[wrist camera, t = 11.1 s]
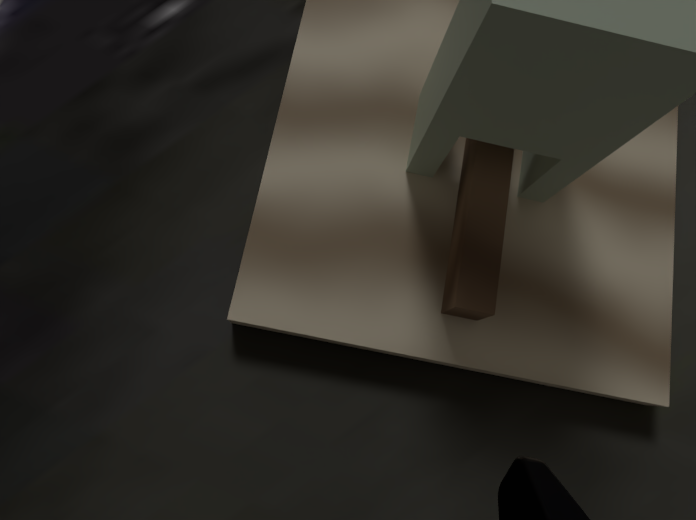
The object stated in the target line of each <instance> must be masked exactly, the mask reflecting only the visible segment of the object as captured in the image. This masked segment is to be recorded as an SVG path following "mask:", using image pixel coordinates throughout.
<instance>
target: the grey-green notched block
mask: <svg viewBox="0 0 696 520" xmlns="http://www.w3.org/2000/svg"><path fill="white" fill-rule="evenodd" d="M695 93H696V0H459V3H458V5H457V7H456V10H455V12H454V14H453V17H452V19H451V22H450V24H449V26H448V29H447V31H446V33H445V36H444V38H443V41H442V43H441V45H440V48H439V50H438V52H437V55H436V57H435V60H434V62H433V64H432V67H431V69H430V71H429V74H428V76H427V79H426V81H425V83H424V86H423V88H422V90H421V93H420V96H419V101H418V107H417V112H416V118H415V123H414V129H413V134H412V139H411V145H410V150H409V156H408V161H407V167H406V172H410V173H414V174H419V175H423V176H428V177H433V176H434V174H435V173H436V171H437V170H438V168H439V167H440V165H441V164H442V162H443V161H444V159H445V158H446V156H447V155H448V153H449V152H450V150H451V149H452V147H453V146H454V144H455V143H456V141H457V139H458V138H459V136H460V137H465V138H469V139H473V140H478V141H482V142H486V143H491V144H495V145H500V146H504V147H508V148H513V149H517V150H521V151H523V153H522V162H521V170H520V178H519V186H518V194H517V197H521V198H525V199H530V200H534V201H539V202H545V201H546V200H548V199H549V198H550V197H552V196H553V195H555V194H556V193H557V192H559V191H560V190H562V189H563V188H564V187H566V186H567V185H569V184H570V183H571V182H573V181H574V180H575V179H577V178H578V177H580V176H581V175H582V174H584V173H585V172H587V171H588V170H589V169H591V168H592V167H594V166H595V165H596V164H598V163H599V162H600V161H602V160H603V159H605V158H606V157H607V156H609V155H610V154H612V153H613V152H614V151H616V150H617V149H619V148H620V147H621V146H623V145H624V144H625V143H627V142H628V141H630V140H631V139H632V138H634V137H635V136H637V135H638V134H639V133H641V132H642V131H644V130H645V129H646V128H648V127H649V126H650V125H652V124H653V123H655V122H656V121H657V120H659V119H660V118H662V117H663V116H664V115H666V114H667V113H669V112H670V111H671V110H673V109H674V108H675V107H677V106H678V105H680V104H681V103H682V102H684V101H685V100H687V99H688V98H689V97H691V96H692V95H694V94H695Z"/></svg>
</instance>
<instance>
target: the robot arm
mask: <svg viewBox="0 0 696 520" xmlns="http://www.w3.org/2000/svg"><path fill="white" fill-rule="evenodd" d="M498 507H499V520H590V519H589V518H588V516H587V515H586V514H585V513H584V511H583V510H582V509H581V508H580V506H579V505H578V504H577V503H576V501H575V500H574V499H573V497H572V496H571V495H570V494H569V492H568V491H567V490H566V489H565V487H564V486H563V485H562V484H561V482H560V481H559V480H558V479H557V477H556V476H555V475H554V474H553V472H552V471H551V470H550V468H549V467H548V466H547V465H546V464H545V463H544V462H543V461H541V460H539V459H535V458H530V457H525V456H519V457H517V458H516V459H515V460H514V462H513V463H512V465H511V467H510V468H509V470H508V472H507V473H506V475H505V477H504V478H503V480H502V482H501V484H500V487H499V491H498Z"/></svg>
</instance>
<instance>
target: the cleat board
mask: <svg viewBox="0 0 696 520" xmlns="http://www.w3.org/2000/svg"><path fill="white" fill-rule="evenodd" d="M458 3H459V0H306V4H305V8H304V12H303V16H302V20H301V24H300V28H299V32H298V36H297V40H296V44H295V48H294V52H293V56H292V60H291V64H290V68H289V72H288V76H287V80H286V84H285V88H284V92H283V96H282V100H281V104H280V108H279V112H278V116H277V120H276V124H275V128H274V132H273V136H272V140H271V144H270V149H269V153H268V157H267V161H266V165H265V169H264V173H263V177H262V181H261V185H260V189H259V193H258V197H257V201H256V205H255V209H254V213H253V217H252V221H251V225H250V229H249V233H248V237H247V241H246V245H245V249H244V253H243V257H242V261H241V265H240V269H239V273H238V277H237V281H236V285H235V289H234V293H233V297H232V302H231V306H230V310H229V314H228V318H227V320H229V321H230V322H231V323H234V324H239V325H244V326H249V327H254V328H259V329H264V330H269V331H274V332H279V333H284V334H289V335H294V336H299V337H305V338H310V339H315V340H320V341H325V342H330V343H335V344H340V345H345V346H350V347H355V348H360V349H365V350H370V351H375V352H380V353H385V354H390V355H395V356H400V357H405V358H410V359H415V360H420V361H426V362H431V363H436V364H441V365H446V366H451V367H456V368H461V369H466V370H471V371H476V372H481V373H486V374H491V375H496V376H501V377H506V378H511V379H516V380H521V381H526V382H531V383H536V384H541V385H547V386H552V387H557V388H562V389H567V390H572V391H577V392H582V393H587V394H592V395H597V396H602V397H607V398H612V399H617V400H622V401H627V402H632V403H637V404H642V405H650V406H663V407H669V391H670V358H671V324H672V290H673V257H674V223H675V189H676V155H677V122H678V106H677V107H675V108H674V109H673V110H671V111H670V112H669V113H667V114H666V115H664V116H663V117H662V118H660V119H659V120H657V121H656V122H655V123H653V124H652V125H650V126H649V127H648V128H646V129H645V130H644V131H642V132H641V133H639V134H638V135H637V136H635V137H634V138H632V139H631V140H630V141H628V142H627V143H625V144H624V145H623V146H621V147H620V148H619V149H617V150H616V151H614V152H613V153H612V154H610V155H609V156H607V157H606V158H605V159H603V160H602V161H600V162H599V163H598V164H596V165H595V166H594V167H592V168H591V169H589V170H588V171H587V172H585V173H584V174H582V175H581V176H580V177H578V178H577V179H575V180H574V181H573V182H571V183H570V184H569V185H567V186H566V187H564V188H563V189H562V190H560V191H559V192H557V193H556V194H555V195H553V196H552V197H550V198H549V199H548V200H546V201H545V202H539V201H534V200H530V199H525V198H521V197H517V194H518V186H519V178H520V170H521V162H522V153H523V151H521V150H517V149H513V148H508V147H504V146H500V145H495V144H491V143H486V142H482V141H478V140H473V139H469V138H465V137H460V136H459V138H458V139H457V141H456V143H455V144H454V146H453V147H452V149H451V150H450V152H449V153H448V155H447V156H446V158H445V159H444V161H443V162H442V164H441V165H440V167H439V168H438V170H437V171H436V173H435V174H434V176H433V177H428V176H423V175H419V174H414V173H410V172H406V167H407V161H408V156H409V150H410V145H411V139H412V134H413V129H414V123H415V118H416V112H417V107H418V101H419V96H420V93H421V90H422V88H423V86H424V83H425V81H426V79H427V76H428V74H429V71H430V69H431V67H432V64H433V62H434V60H435V57H436V55H437V52H438V50H439V48H440V45H441V43H442V41H443V38H444V36H445V33H446V31H447V29H448V26H449V24H450V22H451V19H452V17H453V14H454V12H455V10H456V7H457V5H458Z"/></svg>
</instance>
